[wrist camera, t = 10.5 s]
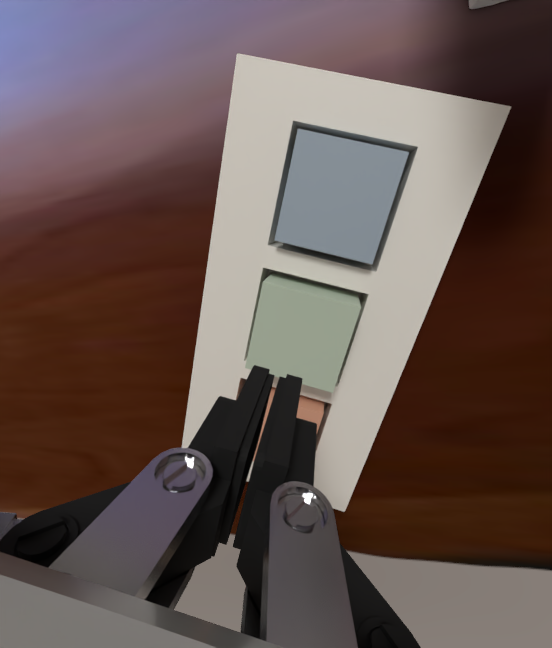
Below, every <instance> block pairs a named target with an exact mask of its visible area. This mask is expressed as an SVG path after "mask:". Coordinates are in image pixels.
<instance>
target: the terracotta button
mask: <svg viewBox="0 0 552 648" xmlns="http://www.w3.org/2000/svg"><path fill="white" fill-rule="evenodd" d="M275 390H276V388H275V387H272V388H271V392H270V396H269V400H268V405H267V409H266V413H265V417H264V421H263V425H262V429H261V433H260V437H259V441H258V444H257V448H256V451H255V454H254V458H253V461H254V460H255V456H256V453H257V449H258V446H259V443H260V439H261V436H262V433H263V429H264V426H265V423H266V420H267V416H268V413H269V410H270V406H271V403H272V400H273V397H274V393H275ZM323 414H324V401H320V400H317V399H313V398H310V397H306V396H303V395H300V398H299V405H298V411H297V417H296V418H300V419H303V420H307V421H310V422H314V423H316V424H317V432H318V429H319V426H320V423H321V420H322V417H323Z"/></svg>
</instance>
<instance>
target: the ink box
mask: <svg viewBox="0 0 552 648" xmlns="http://www.w3.org/2000/svg"><path fill="white" fill-rule="evenodd" d="M503 1H507V0H469V8H470V9H477V8H481V7H485V6H490V5H494V4H497V3H500V2H503Z"/></svg>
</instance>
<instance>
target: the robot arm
mask: <svg viewBox="0 0 552 648" xmlns="http://www.w3.org/2000/svg"><path fill="white" fill-rule="evenodd" d="M269 371H270V369H267V368H264V367H260V366H256V365H254V366H253V368H252V370H251V372H250V374H249V376H248V378H247V380H246V382H245V384H244V386H243V388H242V390H241V392H240V394H239V396H238V398H237V400H233V399H229V398H226V397H222V396H219V397H218V399H217V400H216V402H215V404H214V405H213V407H212V408H211V410H210V412H209V413H208V415H207V417H206V418H205V420H204V422H203V423H202V425H201V427H200V428H199V430H198V432H197V433H196V435H195V437H194V438H193V440H192V441H191V443H190V445H189V446H188V448H175V449H170V450H168V451H165V452H163V453H161V454H160V455H158V456H157V457H156V458H154V459H153V460H152V461H151V462H150V463H149V464H148V465H147V466H146V467H145V469H144V470H143V471H142V472H141V473H140V474H139V475H138V476H137V477H136V478H135V479H134V480H133V481H132V482H129V483H126V484H123V485H120V486H117V487H114V488H111V489H108V490H105V491H101V492H98V493H95V494H92V495H89V496H86V497H83V498H80V499H77V500H74V501H71V502H68V503H65V504H62V505H59V506H56V507H53V508H49V509H46V510H43V511H40V512H38V513H36V514H34V515H31V516H29V517H27V518H25V519H24V520H23V519H17V514H16V513H4V512H0V648H420V646H419V644H418V643H417V641H416V640H415V638H414V637H413V635H412V633H411V632H410V631H409V629H408V628H407V627H406V626H405V624H404V623H403V622H402V621H401V619H400V618H399V617H398V616H397V614H396V613H395V612H394V611H393V609H392V608H391V607H390V606H389V604H388V603H387V602H386V601H385V599H384V598H383V597H382V596H381V594H380V593H379V592H378V591H377V589H376V588H375V587H374V585H373V584H372V583H371V582H370V580H369V579H368V578H367V577H366V575H365V574H364V573H363V572H362V570H361V569H360V568H359V567H358V565H357V564H356V563H355V562H354V560H353V559H352V558H351V557H350V555H349V554H348V553H347V552H346V550H345V549H344V548H343V547H342V545H341V544H340V543H339V538H338V532H337V527H336V521H335V515H334V512H333V509H332V506H331V504H330V502H329V501H328V499H327V498H326V496H325V495H324V494H323V493H322V492H321V491H319V490H318V489H317V488H315V487H314V470H315V453H316V435H317V424H316V423H314V422H310V421H307V420H303V419H300V418H296V417H297V411H298V405H299V398H300V392H301V386H302V380H303V378H300V377H296V376H293V375H289V374H287V376H286V378H284V377H279V380H278V383H277V387H276V390H275V393H274V397H273V400H272V403H271V406H270V410H269V413H268V416H267V420H266V423H265V426H264V429H263V433H262V436H261V439H260V443H259V446H258V449H257V453H256V456H255V460H254V463H253V467H252V471H251V475H250V479H249V483H248V487H247V491H246V495H245V499H244V503H243V507H242V511H241V515H240V519H239V523H238V527H237V531H236V536H235V540H234V544H233V547H235V548H238V549H241V551H240V554H239V558H238V562H237V568H238V570H239V572H240V574H241V576H242V578H243V580H244V582H245V584H246V588H245V592H244V600H243V611H242V622H241V633H240V632H237V631H234V630H231V629H228V628H225V627H222V626H219V625H216V624H213V623H210V622H207V621H204V620H202V619H198V618H196V617H193V616H190V615H187V614H184V613H181V612H178V611H175V610H174V608H175V606H176V605H177V603H178V601H179V599H180V597H181V595H182V594H183V592H184V590H185V588H186V586H187V584H188V582H189V580H190V579H191V576H192V574H193V571H194V569H195V566H197V565H199V564H200V563H202V562H204V561H206V560H208V559H210V558H211V556H215V553H216V550H217V546H218V544H219V543H222V544H227V541H228V538H229V535H230V532H231V529H232V525H233V522H234V519H235V516H236V512H237V509H238V506H239V503H240V500H241V496H242V493H243V490H244V487H245V483H246V480H247V477H248V474H249V470H250V467H251V464H252V461H253V458H254V454H255V451H256V448H257V444H258V441H259V437H260V433H261V429H262V425H263V421H264V417H265V413H266V409H267V405H268V400H269V396H270V392H271V388H272V384H273V380H274V376H275V375H273V374H269Z"/></svg>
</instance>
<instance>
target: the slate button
mask: <svg viewBox="0 0 552 648" xmlns="http://www.w3.org/2000/svg"><path fill="white" fill-rule="evenodd" d="M408 154H409V152H406V151H401V150H397V149H392V148H387V147H383V146H378V145H373V144H368V143H364V142H359V141H354V140H350V139H345V138H340V137H335V136H331V135H326V134H321V133H317V132H312V131H307V130H303V129H298V130H297V135H296V140H295V145H294V149H293V154H292V159H291V164H290V168H289V173H288V178H287V183H286V187H285V192H284V197H283V202H282V206H281V211H280V216H279V221H278V225H277V230H276V235H275V241H279V242H283V243H287V244H291V245H295V246H299V247H303V248H307V249H311V250H315V251H320V252H324V253H328V254H332V255H336V256H340V257H344V258H348V259H352V260H356V261H360V262H364V263H368V264H373V261H374V258H375V255H376V252H377V249H378V246H379V243H380V240H381V237H382V234H383V231H384V227H385V224H386V221H387V218H388V215H389V212H390V209H391V206H392V203H393V200H394V197H395V194H396V191H397V188H398V185H399V182H400V179H401V176H402V173H403V169H404V166H405V163H406V160H407V157H408Z"/></svg>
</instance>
